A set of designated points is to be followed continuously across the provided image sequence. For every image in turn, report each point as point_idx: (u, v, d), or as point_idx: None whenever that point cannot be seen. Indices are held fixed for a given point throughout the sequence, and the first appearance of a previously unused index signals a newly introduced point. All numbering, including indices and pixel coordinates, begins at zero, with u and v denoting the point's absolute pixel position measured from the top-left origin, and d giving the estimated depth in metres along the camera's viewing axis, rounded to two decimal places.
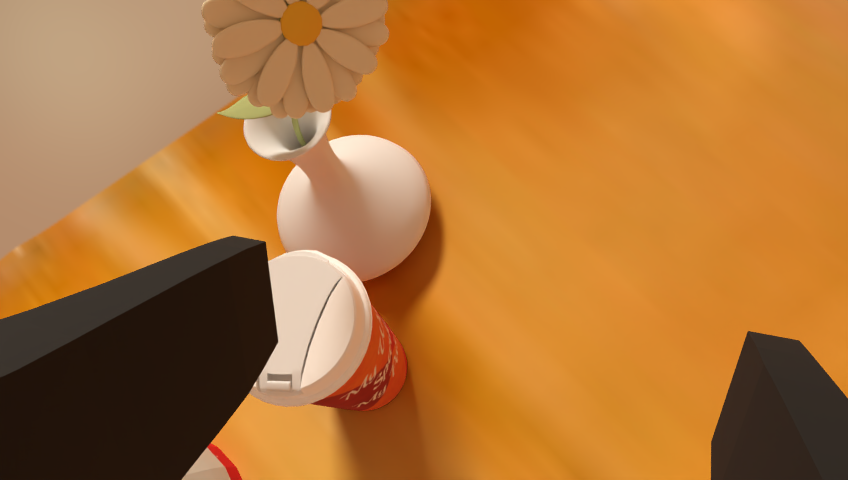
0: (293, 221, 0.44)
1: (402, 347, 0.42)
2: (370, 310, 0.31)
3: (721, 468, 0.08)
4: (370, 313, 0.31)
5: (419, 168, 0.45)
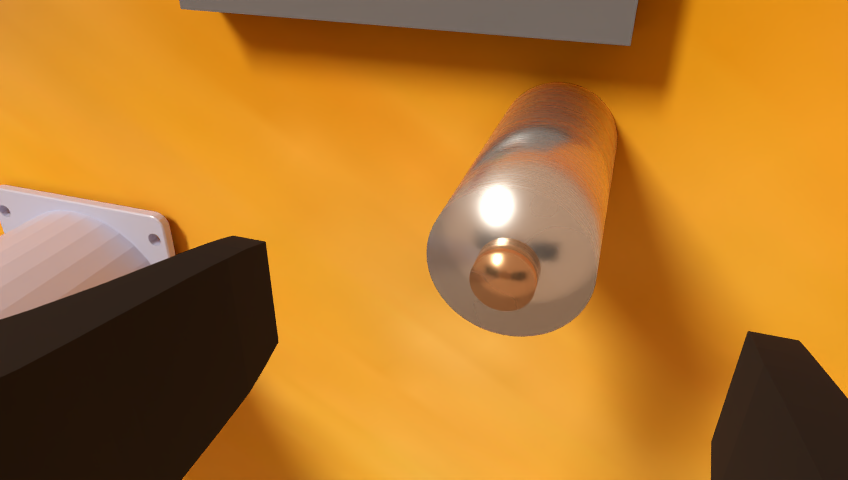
0: None
1: None
2: None
3: (721, 468, 0.08)
4: None
5: None
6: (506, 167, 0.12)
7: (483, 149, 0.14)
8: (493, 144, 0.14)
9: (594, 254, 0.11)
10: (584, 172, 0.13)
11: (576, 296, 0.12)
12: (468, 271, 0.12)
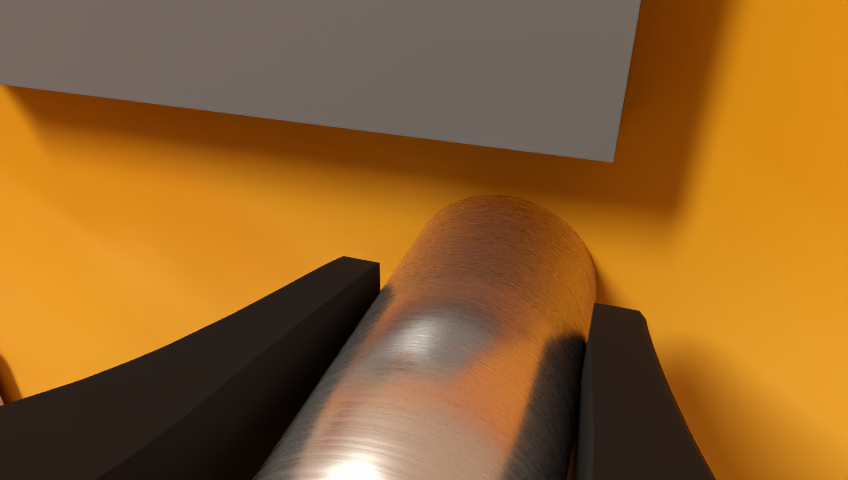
0: None
1: None
2: None
3: None
4: None
5: None
6: None
7: (335, 360, 0.08)
8: (344, 365, 0.07)
9: None
10: (510, 463, 0.06)
11: None
12: None
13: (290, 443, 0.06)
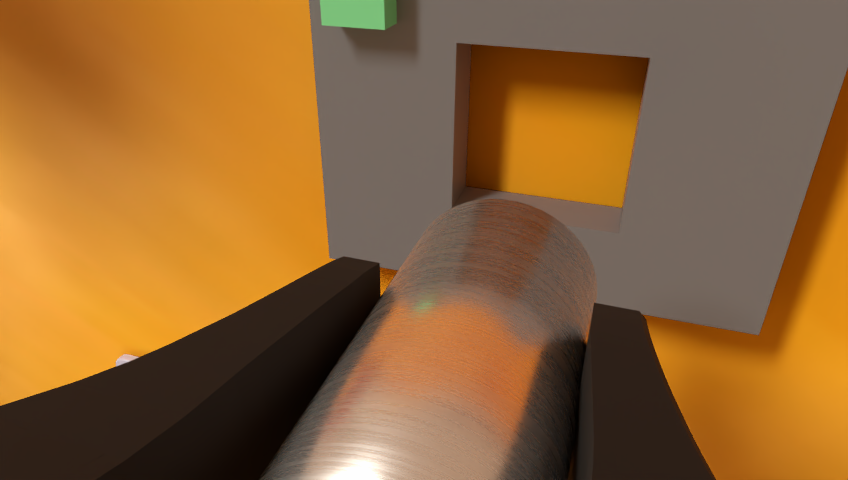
0: None
1: None
2: None
3: None
4: None
5: None
6: None
7: (333, 368, 0.08)
8: (341, 372, 0.07)
9: None
10: (504, 464, 0.06)
11: None
12: None
13: (288, 451, 0.06)
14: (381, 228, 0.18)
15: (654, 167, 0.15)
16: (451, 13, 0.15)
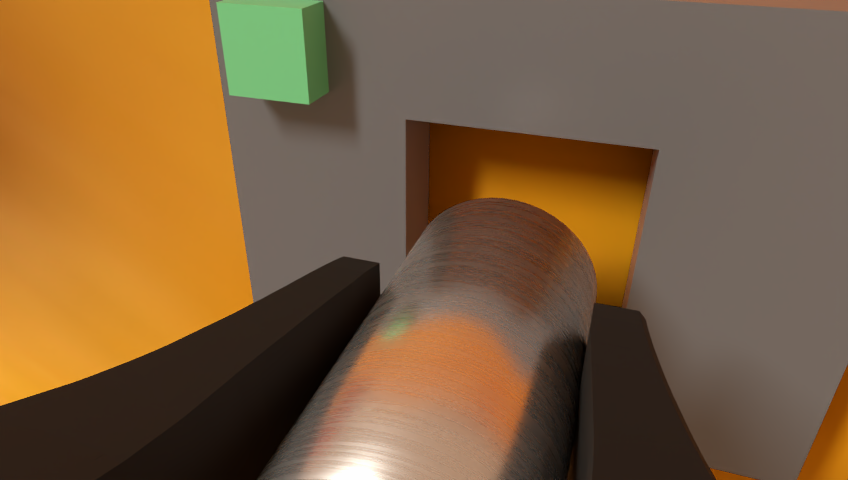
0: None
1: None
2: None
3: None
4: None
5: None
6: None
7: (332, 367, 0.08)
8: (340, 371, 0.07)
9: None
10: (504, 464, 0.06)
11: None
12: None
13: (286, 450, 0.06)
14: None
15: (662, 284, 0.12)
16: (397, 82, 0.11)
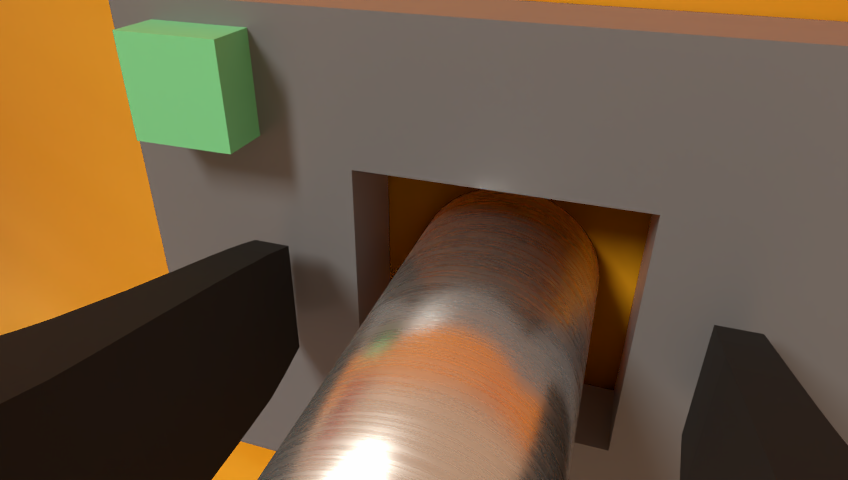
0: None
1: None
2: None
3: (688, 460, 0.09)
4: None
5: None
6: (334, 461, 0.06)
7: (347, 347, 0.08)
8: (355, 349, 0.08)
9: None
10: (513, 433, 0.06)
11: None
12: None
13: (306, 422, 0.07)
14: (268, 404, 0.13)
15: (664, 370, 0.10)
16: (340, 125, 0.09)
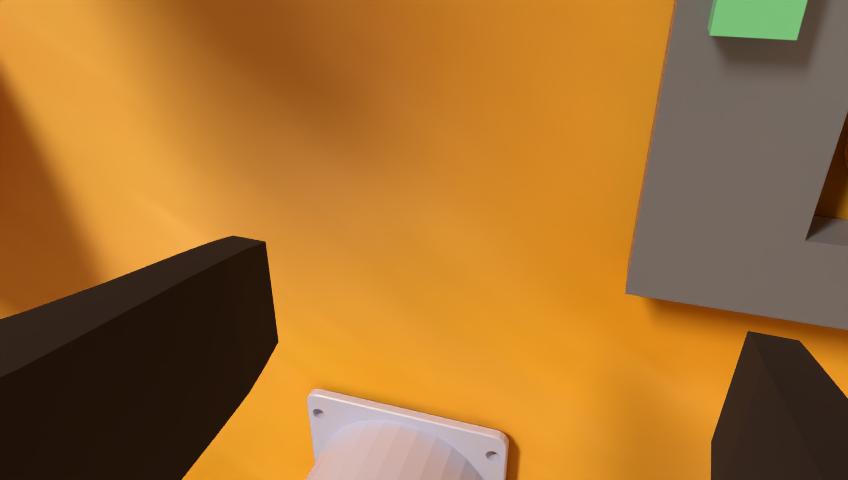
0: None
1: None
2: None
3: (721, 468, 0.08)
4: None
5: None
6: None
7: None
8: None
9: None
10: None
11: None
12: None
13: None
14: (703, 261, 0.16)
15: None
16: None
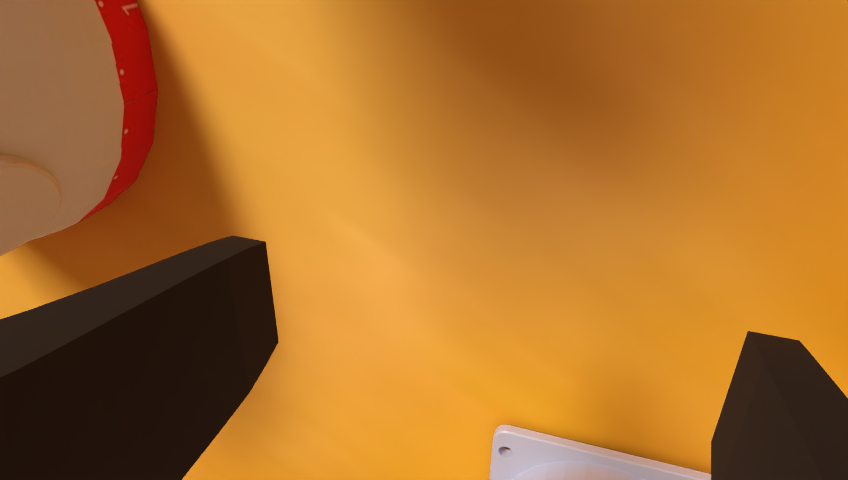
0: None
1: None
2: None
3: (721, 468, 0.08)
4: None
5: None
6: None
7: None
8: None
9: None
10: None
11: None
12: None
13: None
14: None
15: None
16: None
